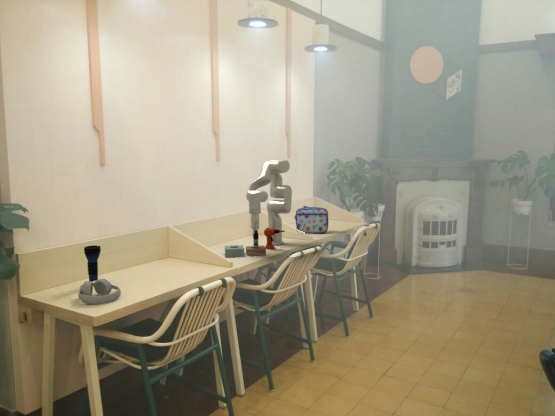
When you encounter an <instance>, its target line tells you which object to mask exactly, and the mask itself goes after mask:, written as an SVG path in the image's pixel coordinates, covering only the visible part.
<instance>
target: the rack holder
mask: <svg viewBox="0 0 555 416" xmlns="http://www.w3.org/2000/svg"><path fill="white" fill-rule="evenodd" d="M224 257H225V258H229V257H230V258H231V257H233V258H235V257H236V258H237V257H245V248H244V244H238V245H237V244H235V245H224Z"/></svg>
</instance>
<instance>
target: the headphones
mask: <svg viewBox="0 0 555 416" xmlns="http://www.w3.org/2000/svg"><path fill="white" fill-rule="evenodd" d="M92 283H94V285H93V284H92ZM93 288H94V289H93ZM112 290H115V291H113V292H112ZM93 291H95V293H96V294H97V295H93ZM121 292H122V291H121V289H120V287H119V286H117V285H113V284H112V283H111V282H110V281H109V280H108V279H106V278H98V280H96V281H94V282H92V281H87V280H86V281H84V283H82V285H80V287H79V291H78V298H79V300H80V302H82V303H83V304H84V305H95V306H96V305H104V304H107V303H111V302H115V301H117V300H118V299H119V298H120V297H121Z"/></svg>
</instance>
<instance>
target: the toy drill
mask: <svg viewBox="0 0 555 416" xmlns="http://www.w3.org/2000/svg"><path fill="white" fill-rule="evenodd" d="M280 232H282V233H285V232H286V230H283V229H282V231H280V230H277V229H273V228H272V229H271V228H269V227H266V228H265V229H264V231H263V234H264V236H265V238H266V244H265V245H264V247H265V248H266V250H269V251H270V250H272V251H273V250H276V247H275V245H272V241H273V238H272V235H275V234H277V233H280Z"/></svg>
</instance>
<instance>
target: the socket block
mask: <svg viewBox="0 0 555 416" xmlns="http://www.w3.org/2000/svg"><path fill="white" fill-rule="evenodd" d="M245 252H246V256H247V257H252V256H253V257H254V256H255V257H256V256H258V257H259V256H266V255H267V249H266V248H265V245H258V246H254V245H247V246H245Z"/></svg>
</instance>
